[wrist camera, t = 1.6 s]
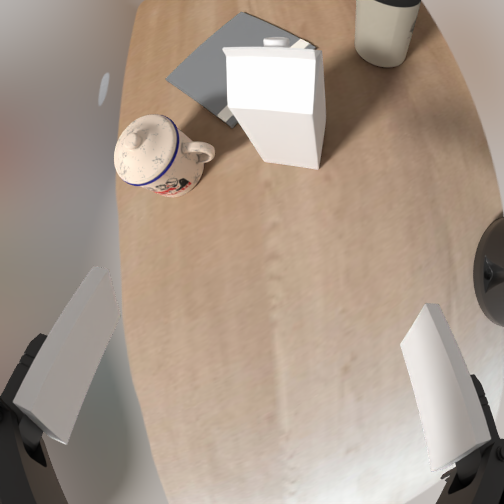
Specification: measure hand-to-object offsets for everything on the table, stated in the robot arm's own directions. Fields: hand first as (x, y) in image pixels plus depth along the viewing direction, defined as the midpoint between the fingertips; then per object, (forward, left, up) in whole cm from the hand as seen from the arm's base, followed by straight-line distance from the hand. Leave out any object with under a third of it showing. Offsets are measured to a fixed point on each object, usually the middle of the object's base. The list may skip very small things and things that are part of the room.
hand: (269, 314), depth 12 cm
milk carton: (-12, -13, -25) cm, 31 cm away
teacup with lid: (0, -22, -25) cm, 34 cm away
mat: (-17, -29, -25) cm, 42 cm away
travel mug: (-33, -14, -25) cm, 44 cm away
